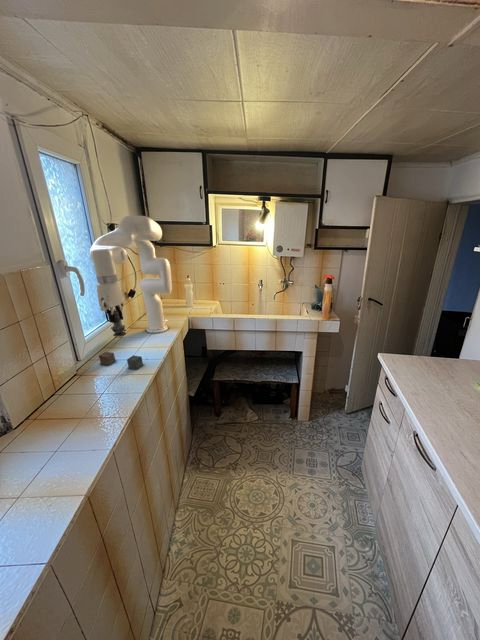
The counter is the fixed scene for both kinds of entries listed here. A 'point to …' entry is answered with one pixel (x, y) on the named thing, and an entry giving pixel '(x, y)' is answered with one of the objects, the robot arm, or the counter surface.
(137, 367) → the slate block
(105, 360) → the walnut block
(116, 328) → the stone chess piece
